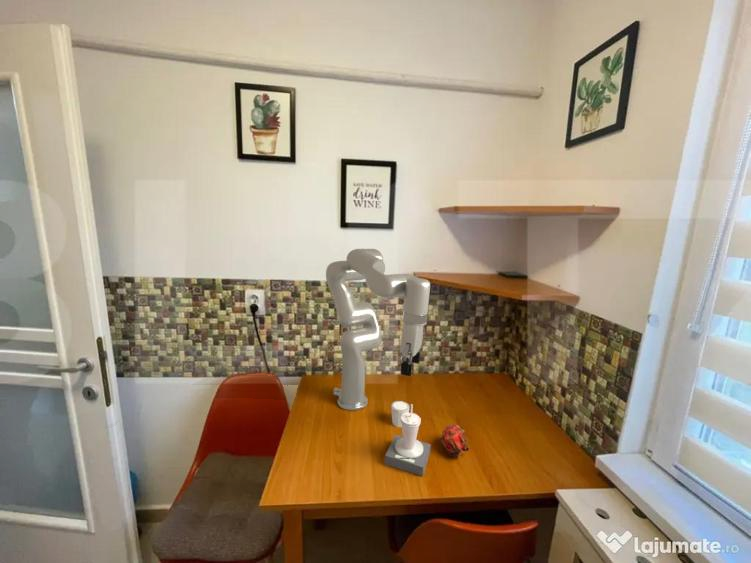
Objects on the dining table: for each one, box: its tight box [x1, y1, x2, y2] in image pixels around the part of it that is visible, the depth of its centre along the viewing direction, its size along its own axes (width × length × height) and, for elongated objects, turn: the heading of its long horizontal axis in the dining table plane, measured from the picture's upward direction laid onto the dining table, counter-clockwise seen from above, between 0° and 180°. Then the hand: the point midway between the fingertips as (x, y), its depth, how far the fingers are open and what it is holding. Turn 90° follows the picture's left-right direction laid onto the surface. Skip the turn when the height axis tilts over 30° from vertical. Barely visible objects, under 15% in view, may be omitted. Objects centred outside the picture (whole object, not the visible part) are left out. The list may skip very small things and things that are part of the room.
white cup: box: [390, 400, 410, 428], centre depth 117 cm, size 7×7×7 cm
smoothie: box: [400, 403, 422, 450], centre depth 98 cm, size 6×6×14 cm
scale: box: [384, 434, 432, 477], centre depth 99 cm, size 12×11×4 cm
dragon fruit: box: [440, 423, 470, 458], centre depth 104 cm, size 8×8×12 cm
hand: (410, 368), depth 100 cm, fingers open, 9 cm apart
